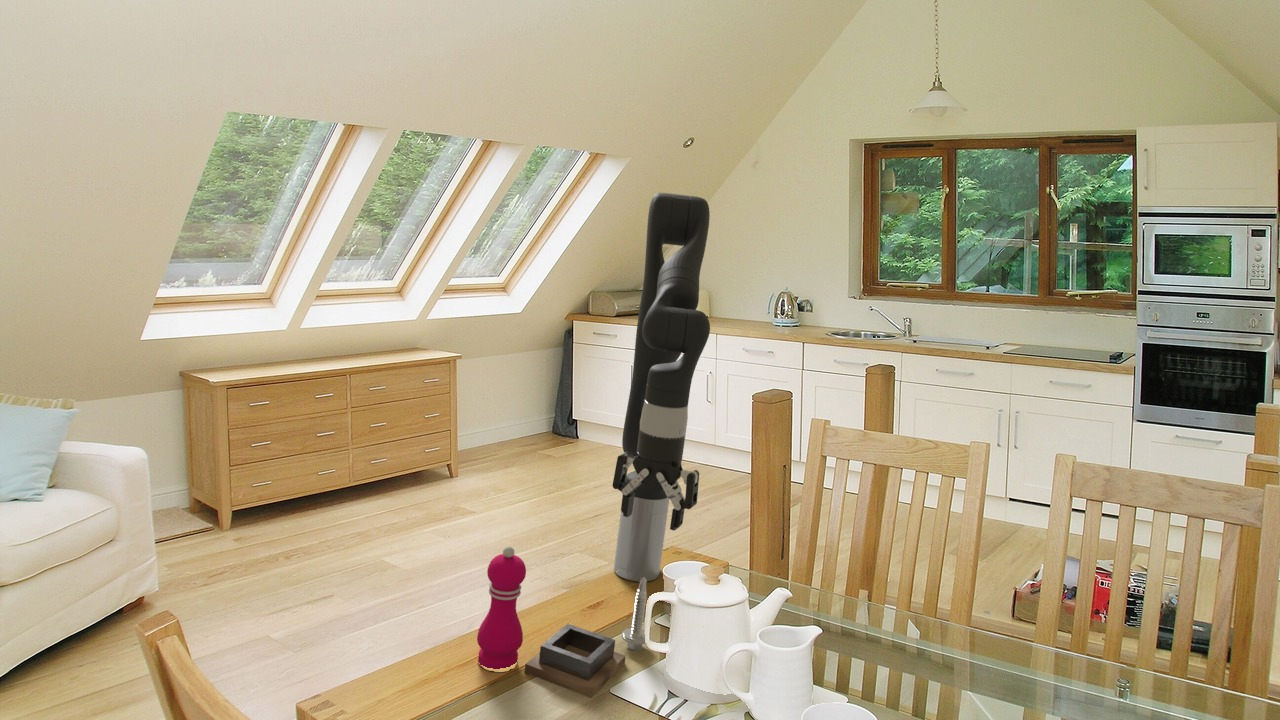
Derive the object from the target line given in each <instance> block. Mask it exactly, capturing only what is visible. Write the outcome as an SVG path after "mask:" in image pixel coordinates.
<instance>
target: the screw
mask: <svg viewBox="0 0 1280 720" xmlns="http://www.w3.org/2000/svg"><path fill="white" fill-rule="evenodd" d="M647 582H648V581H647V580H646V579H645V577H641V578H640V582H638V583H639V585H638V588H637V589H636V591H637V592H635V593H636V595H635V601H634V606H633V607H634V608H633V610H634V611H633V612H632V613H633V614H632V621H631V623H632V624H631V627H629V628H626V629H625V630H623V631H622V632H621V639H622V640H623V641H625V642H626V643H627V646H626V648H627V649H629V650H631V651H635V652H636V651H642V647H643V645H645V644H647V643H645V634H644V631H645V630H644V629H643V626H644V625H643V624H644V619H645V618H644V617H645V610H646V603H647V602H646V601H647V594H648V591H647Z"/></svg>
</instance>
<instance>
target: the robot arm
mask: <svg viewBox="0 0 1280 720" xmlns="http://www.w3.org/2000/svg"><path fill="white" fill-rule="evenodd" d="M648 208H649V210H648V214H647V216H648V217H647V224H646V225H647V227H646V228H647V229H646V243H645V245H646V246H645V257H644V258H645V260H644V261H645V262H644V263H645V264H644V275H643V282H642V290H641V291H642V292H641V296H640V302H639V303H640V305H639V309H638V310H639V311H638V316H637V317H638V319H637V323H636V324H637V325H636V333H635V344H634V345H635V346H634V354H633V355H634V357H633V368H632V376H631V377H632V378H631V382H630V383H631V384H630V389H629V394H628V400H627V401H628V402H627V408H626V412H625V419H624V426H623V431H622V440H621V441H622V442H621V443H622V444H621V445H622V450H623V451H622V452H623V453H621V454H619V455H618V456H617V458H616V464H615V470H614V475H613V479H612V488H613V489H615V490H618V491H620V493H621V494H622V496H621V507H620V518H619V524H618V530H617V531H618V532H617V539H616V549H615V557H614V566H613V572H614V573H615V574H616V575H617V576H619V577H620V578H623V579H625V580H627V581H632V582H638V583H640V578H641V577H645V579H646V580H647V582H651V581H654V580H657V579H658V578H659V576H660V571H661V563H662V558H663V550H664V543H665V535H666V529H667V520H668V513H669V512H668V511H669V504H670V503H671V504H672V506H673V508H672V511H671V518H670V525H669V529H670V531H676V530H677V529H678V528H680V527H682V525H683V523H684V521H683V520H684V514H685V509H687V510H691V509H692V508H693V507H694V506H696V505H697V504H698V494H699V484H700V483H699V481H700V472H699V470H697V469H694V470H692V471H690V470H685V469H683V466H682V461H683V457H684V456H683V454H684V449H685V448H684V447H685V441H686V440H685V439H686V435H687V434H686V433H687V427H688V419H689V414H688V411H689V410H688V408H689V401H690V400H689V399H690V394H691V387H692V381H693V377H694V373H695V370H696V367H697V364H698V362H699V360H700V357H701V355H702V353H703V351H704V349H705V347H706V345H707V342H708V339H709V337H710V332H711V324H710V320H709V318H708V316H707V315H706V314H705V313H704V312H703V311H702V310H698V306H699V299H700V276H701V269H702V264H703V261H704V256H705V251H706V247H707V246H706V245H707V240H708V235H709V227H710V216H711V215H710V213H711V211H710V206H709V203H708V201H707V200H706V199H705V198H702V197H700V196H699V197H698V196H695V195H685V194H678V193H677V194H676V193H669V192H668V193H667V192H657V193H655V194H654V195H653V196H652V197H651V201H650V204H649V207H648ZM664 245H670V246H671V245H672V246H679V247H681V248H679V249H678V250H677V251H676V252H674V253H673V254H672V255H671V256H669V257H668V258H667V259H666V260H665V258H664V254H663V251H664V250H663V246H664ZM681 354H683V355H682V356H681ZM679 357H680V358H679ZM631 466H633V468H634V470H633V471H630V472H629V473H628V470H629V468H630V467H631ZM680 478H681V479H682V480H683V484H684V485H685V495H684V494H683V492H682V488H681V487H682V486H681V485H680V483H679V482H678V480H679V479H680ZM618 570H619V571H618ZM616 571H618V572H616Z"/></svg>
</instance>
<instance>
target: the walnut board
mask: <svg viewBox="0 0 1280 720" xmlns="http://www.w3.org/2000/svg"><path fill="white" fill-rule="evenodd" d="M564 650H566V651H569V652H572V653H575V654H578V655H580V656H583V657H586V658H588V657H589V656H590V655H591V654H592V653H589V652H587V651H584V650H581V649H578V648H575V647H573V646H570V645H568V646H567V647H566V648H565V649H564ZM539 656H540V651H539V652H538V653H537V654H536V655H534V656H533V657H531V659H529V660H528V661H527V662H526V663H525V665H524V673H525V674H527V675H531V676H533V677H536V678H537V679H541V680H543V681H546V682H548V683H551V684H554V685H557V686H560V687H562V688H564V689H567V690H570V691H573V692H576V693H578V694H580V695H584V696H586V697H589V698H590V699H591V698H593V697H594V696H595V695H596V694H597V693H598V692H599V690H601V689H602V688H603V687H604V686H605V685H606V683H607V682H608V681H609V680H610V679H612V677H613V676H615V674H617V672H618V671H619V670H620V669H622V668H623V666H625V664H626V658H627V657H626V656H627V655H625V654H623V653H619V652H617V651H614V655H613V657H612V658H611V659H610V660H609V661H608V662H607V663H606V664H605V665H604V666H603V667H602V668H601V669H600V670H599V671H598V672H597V673H596V674H595V675H594V676H593V677H592V678H591V679H590V680H589V681H587V680H584V679H581V678H579V677H576V676H573V675H570V674H568V673H565V672H562V671H560V670H557V669H554V668H551V667H549V666H546V665H543V664H541V663H539Z"/></svg>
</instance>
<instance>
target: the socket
mask: <svg viewBox="0 0 1280 720" xmlns="http://www.w3.org/2000/svg"><path fill="white" fill-rule="evenodd" d="M568 645H570V646H573V647H575V648H578V649H581V650H584V651H587V652H589V653H592V654H591V655H590V656H589V657H588V658H586V657H583V656H580V655H578V654H575V653H572V652H569V651H566V650H564V649H565V648H566V647H567V646H568ZM615 646H616V639H613V638H610V637H608V636H604V635H602V634H599V633H596V632H593V631H591V630H587V629H585V628H582V627H580V626H579V627H578V626H576V625H574V624H573V625H572V624H570V623H566V624H565V625H564V626H563V627H561V628H560V629H559V630H558V631H556V632H555V633H554V634H553V635H552V636H551V637H550V638H548V639H547V640H546V641H544V642H543V643H542V644H541V645H540V647H539V649H540V650H539V652H540V656H539V663H541V664H543V665H546V666H549V667H551V668H554V669H557V670H560V671H562V672H565V673H568V674H570V675H573V676H576V677H579V678H581V679H584V680H587V681H589V680H590V679H591V678H592V677H593V676H594V675H595V674H596V673H597V672H598V671H599V670H600V669H601V668H602V667H603V666H604V665H605V664H606V663H607V662H608V661H609V660H610V659H611V658H612V657H613V655H614V652H615Z"/></svg>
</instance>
